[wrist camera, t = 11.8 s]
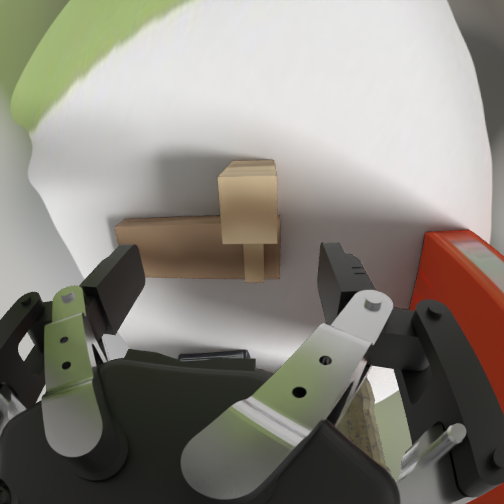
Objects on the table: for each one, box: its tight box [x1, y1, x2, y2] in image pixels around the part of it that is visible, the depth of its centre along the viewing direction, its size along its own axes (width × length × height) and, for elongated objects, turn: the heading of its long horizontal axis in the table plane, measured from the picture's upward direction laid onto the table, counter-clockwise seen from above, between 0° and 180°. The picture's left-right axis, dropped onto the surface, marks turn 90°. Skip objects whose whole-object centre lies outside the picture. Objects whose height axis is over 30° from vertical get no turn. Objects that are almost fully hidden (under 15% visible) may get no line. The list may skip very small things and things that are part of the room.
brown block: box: [115, 215, 281, 279], centre depth 29 cm, size 6×17×2 cm, turn 92°
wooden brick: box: [218, 160, 277, 283], centre depth 24 cm, size 11×4×8 cm, turn 2°
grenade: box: [336, 376, 392, 476], centre depth 24 cm, size 9×12×35 cm
